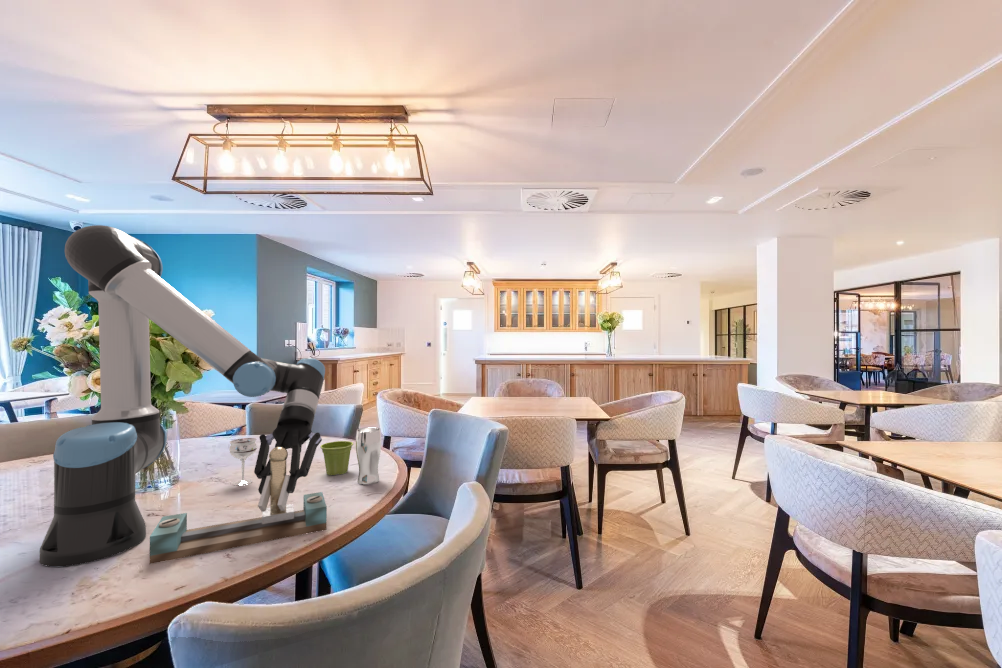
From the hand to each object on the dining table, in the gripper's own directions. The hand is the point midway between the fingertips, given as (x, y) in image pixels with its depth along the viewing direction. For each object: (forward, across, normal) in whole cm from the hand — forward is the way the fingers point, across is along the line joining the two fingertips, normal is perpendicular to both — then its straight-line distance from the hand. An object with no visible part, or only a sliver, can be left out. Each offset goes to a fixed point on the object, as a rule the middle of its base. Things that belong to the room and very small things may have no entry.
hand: (271, 508), depth 87 cm
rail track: (+3, +6, -6) cm, 9 cm away
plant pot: (-26, -2, -36) cm, 45 cm away
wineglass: (-22, +22, -32) cm, 45 cm away
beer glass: (-19, -14, -29) cm, 38 cm away
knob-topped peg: (-1, 0, -6) cm, 6 cm away
